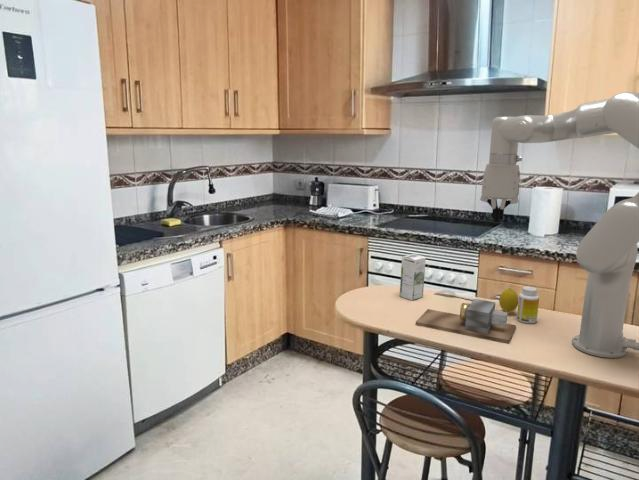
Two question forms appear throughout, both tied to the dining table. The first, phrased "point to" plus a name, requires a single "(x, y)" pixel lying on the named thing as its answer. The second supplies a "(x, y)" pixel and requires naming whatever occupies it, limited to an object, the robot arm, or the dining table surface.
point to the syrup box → (412, 276)
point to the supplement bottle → (528, 305)
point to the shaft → (495, 317)
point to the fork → (452, 294)
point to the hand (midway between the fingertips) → (497, 221)
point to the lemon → (508, 300)
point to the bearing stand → (469, 322)
